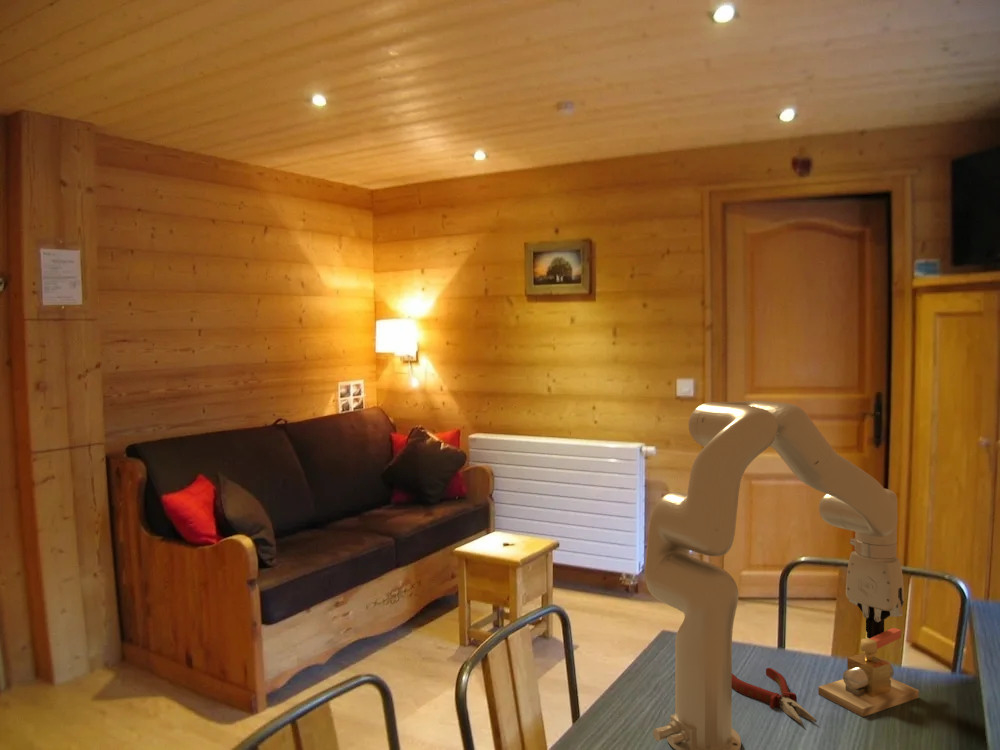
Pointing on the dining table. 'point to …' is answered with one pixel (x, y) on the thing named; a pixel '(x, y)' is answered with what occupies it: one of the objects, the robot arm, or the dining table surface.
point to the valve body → (867, 675)
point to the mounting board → (868, 697)
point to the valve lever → (880, 640)
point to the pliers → (774, 695)
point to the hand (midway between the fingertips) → (874, 637)
